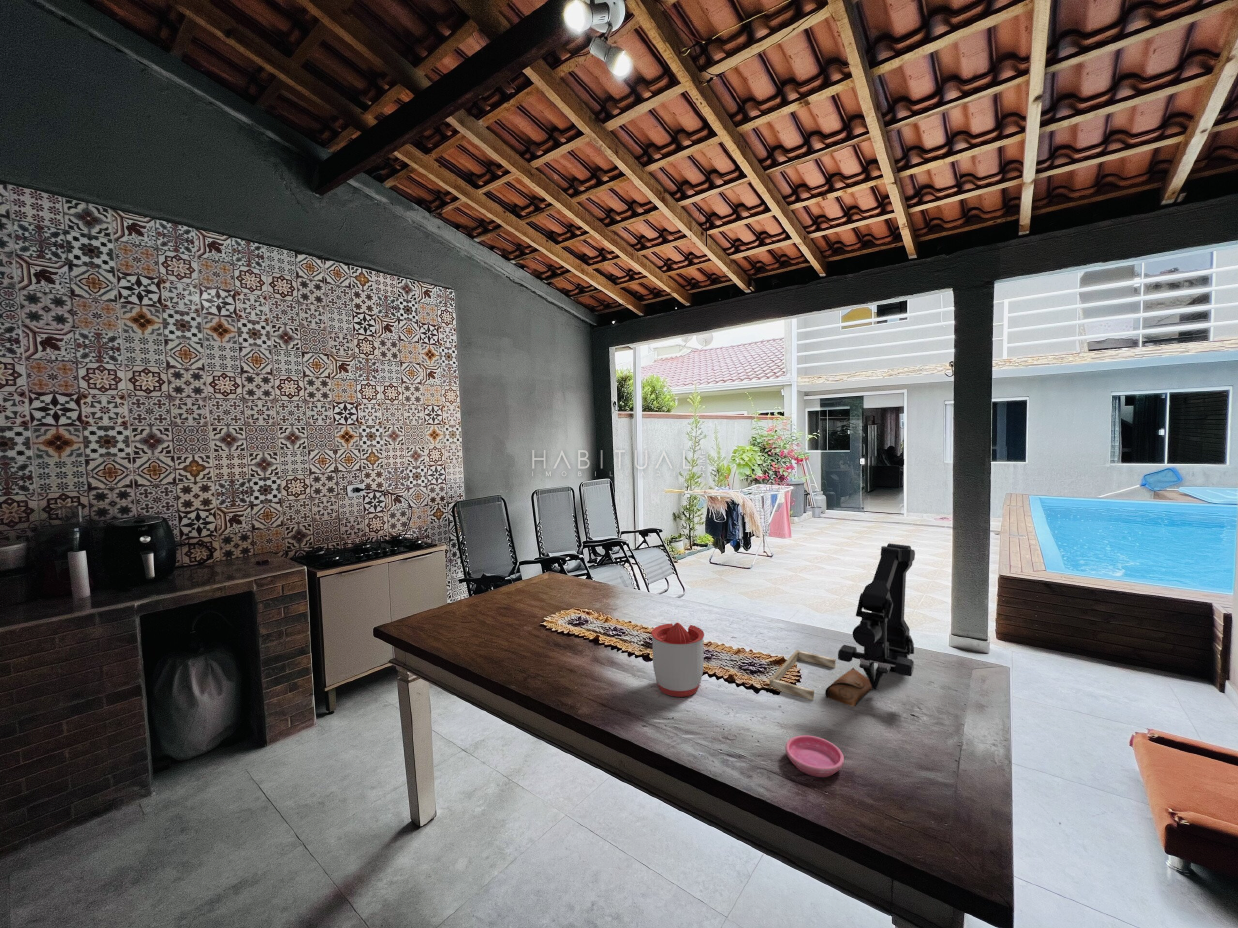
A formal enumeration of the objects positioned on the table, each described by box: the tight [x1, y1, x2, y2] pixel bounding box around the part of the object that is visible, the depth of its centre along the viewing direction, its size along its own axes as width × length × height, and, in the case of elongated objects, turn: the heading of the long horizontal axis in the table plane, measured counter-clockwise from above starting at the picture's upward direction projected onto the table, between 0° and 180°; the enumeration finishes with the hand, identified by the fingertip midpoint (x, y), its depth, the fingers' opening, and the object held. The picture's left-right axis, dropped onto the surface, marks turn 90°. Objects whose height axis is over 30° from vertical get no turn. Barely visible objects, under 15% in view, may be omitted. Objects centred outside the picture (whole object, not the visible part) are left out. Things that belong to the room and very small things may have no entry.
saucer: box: [784, 734, 845, 778], centre depth 115 cm, size 12×12×3 cm
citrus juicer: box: [651, 622, 705, 698], centre depth 151 cm, size 16×17×20 cm
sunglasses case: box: [824, 667, 874, 707], centre depth 147 cm, size 18×7×7 cm, turn 134°
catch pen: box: [769, 649, 837, 701], centre depth 155 cm, size 12×25×2 cm, turn 143°
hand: (874, 688), depth 144 cm, fingers closed
